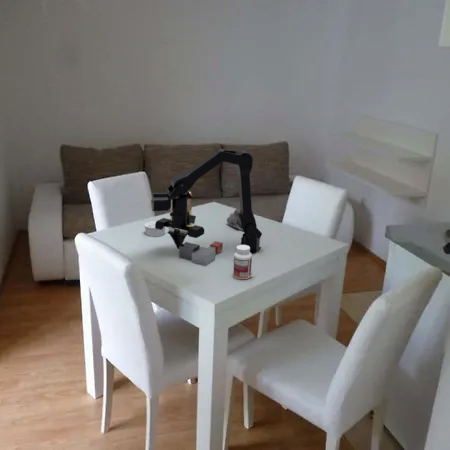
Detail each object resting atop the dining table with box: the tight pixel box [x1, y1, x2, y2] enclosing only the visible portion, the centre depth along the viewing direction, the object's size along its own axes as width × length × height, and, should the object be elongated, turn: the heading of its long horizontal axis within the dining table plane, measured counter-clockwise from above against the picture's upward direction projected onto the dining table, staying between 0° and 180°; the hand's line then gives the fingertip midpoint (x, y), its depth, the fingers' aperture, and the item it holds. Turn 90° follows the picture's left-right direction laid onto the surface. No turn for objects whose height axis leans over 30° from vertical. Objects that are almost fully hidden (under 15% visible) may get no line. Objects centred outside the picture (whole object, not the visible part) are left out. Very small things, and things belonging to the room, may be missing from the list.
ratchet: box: [191, 240, 224, 267], centre depth 190 cm, size 12×16×4 cm
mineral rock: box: [226, 207, 242, 231], centre depth 220 cm, size 13×11×10 cm
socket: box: [178, 241, 201, 262], centre depth 187 cm, size 6×5×5 cm
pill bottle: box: [232, 244, 253, 280], centre depth 172 cm, size 6×6×11 cm
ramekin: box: [144, 220, 166, 238], centre depth 210 cm, size 9×9×4 cm
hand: (179, 248), depth 189 cm, fingers closed
